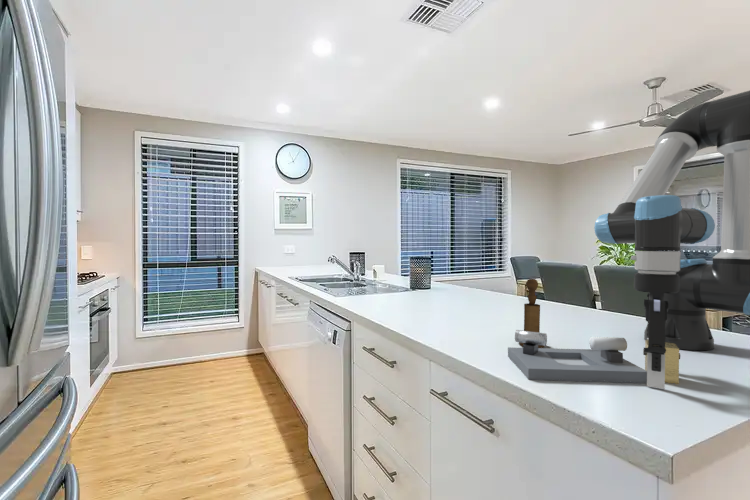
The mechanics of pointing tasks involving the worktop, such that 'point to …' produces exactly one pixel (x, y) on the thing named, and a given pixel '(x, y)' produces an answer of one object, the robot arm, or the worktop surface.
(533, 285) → the brown tall knobbed post
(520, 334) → the shaft
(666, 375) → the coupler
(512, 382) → the worktop surface
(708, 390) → the worktop surface
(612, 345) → the grey frame with rollers
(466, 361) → the worktop surface
